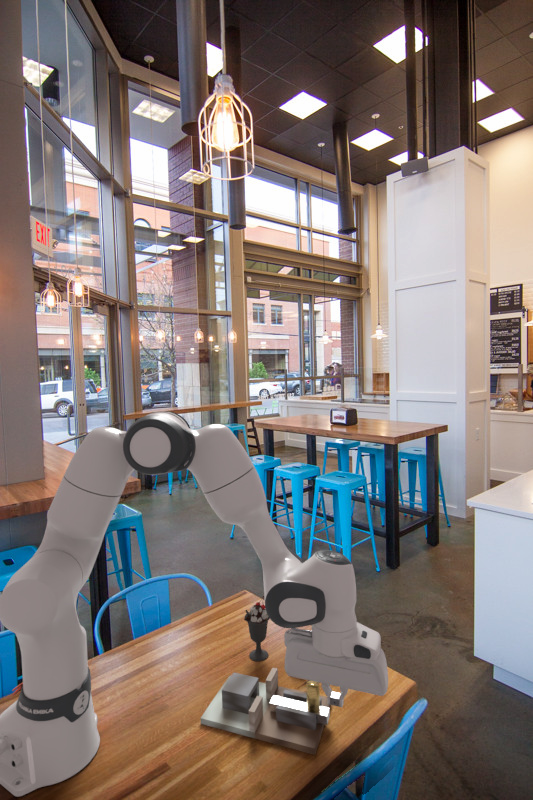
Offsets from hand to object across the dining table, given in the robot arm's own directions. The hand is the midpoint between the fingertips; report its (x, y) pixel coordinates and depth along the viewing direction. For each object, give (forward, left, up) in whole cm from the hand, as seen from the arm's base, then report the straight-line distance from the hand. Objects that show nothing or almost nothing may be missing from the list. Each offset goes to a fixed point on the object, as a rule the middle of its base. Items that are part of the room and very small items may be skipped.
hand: (335, 703), depth 86 cm
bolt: (-8, 0, -4) cm, 9 cm away
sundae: (-24, +18, -6) cm, 30 cm away
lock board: (-15, 0, -5) cm, 16 cm away
